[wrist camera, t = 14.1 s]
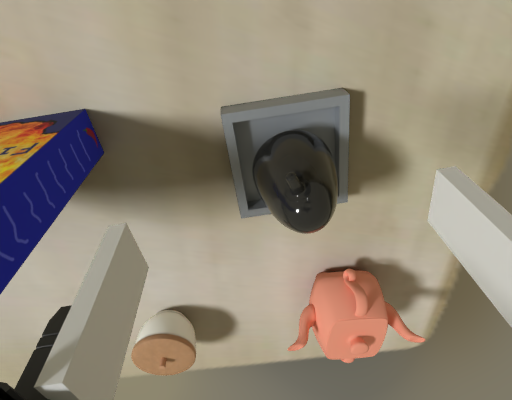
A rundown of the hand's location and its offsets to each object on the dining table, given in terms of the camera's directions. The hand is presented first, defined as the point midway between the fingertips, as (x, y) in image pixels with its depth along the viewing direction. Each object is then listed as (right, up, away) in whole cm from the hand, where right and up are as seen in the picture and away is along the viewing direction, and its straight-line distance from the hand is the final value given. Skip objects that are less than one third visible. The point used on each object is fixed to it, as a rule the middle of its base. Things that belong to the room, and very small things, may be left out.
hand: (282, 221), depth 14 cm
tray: (+3, +7, +31) cm, 32 cm away
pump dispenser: (+3, +7, +31) cm, 32 cm away
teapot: (+14, -15, +47) cm, 52 cm away
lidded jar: (-17, -22, +49) cm, 56 cm away
